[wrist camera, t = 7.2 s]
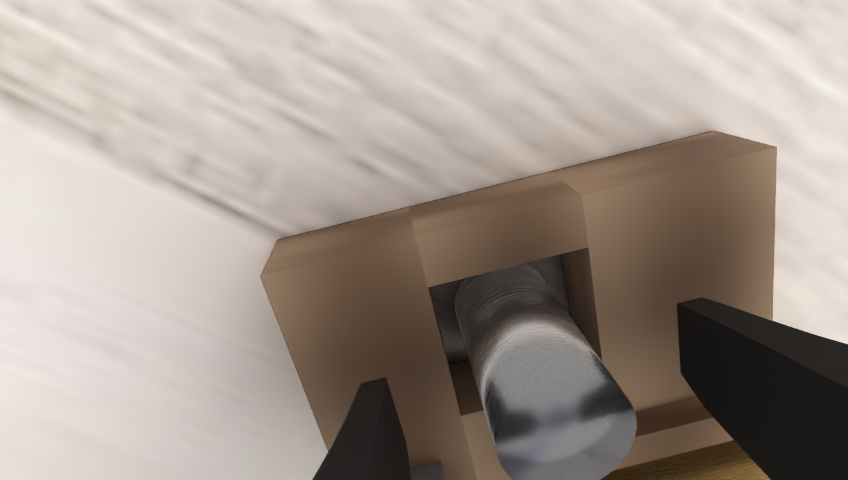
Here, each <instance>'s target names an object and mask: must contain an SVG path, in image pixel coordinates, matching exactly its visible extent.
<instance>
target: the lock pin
mask: <svg viewBox="0 0 848 480" xmlns="http://www.w3.org/2000/svg"><path fill="white" fill-rule="evenodd" d="M600 480H770V479H769V477H768V476H767V475H766V474H765V473H764V472H763V471H762V470H761V469H760V468H759V467H758V466H757V464H756V463H755V462H754V461H753V460H752V459H751V458H750V457H749V456H748V455H747V454H746V453H745V451H744V450H743V449H742V448H741V447H740V446H739V445H738V444H737V443H736V442H735V441H734V440H732V441H728V442H724V443H720V444H716V445H712V446H708V447H704V448H700V449H696V450H692V451H688V452H684V453H680V454H676V455H672V456H668V457H664V458H660V459H656V460H652V461H648V462H644V463H640V464H636V465H632V466H628V467H624V468H620V469H616V470H613V471H611V472H610V473H609V474H608V475H606V476H605V477H603V478H602V479H600Z"/></svg>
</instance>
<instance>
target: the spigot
mask: <svg viewBox="0 0 848 480" xmlns="http://www.w3.org/2000/svg"><path fill="white" fill-rule="evenodd" d="M455 313H456V317H457V320H458V324H459V327H460V330H461V334H462V337H463V341H464V344H465V347H466V351H467V354H468V358H469V361H470V364H471V368H472V371H473V375H474V378H475V381H476V385H477V388H478V392H479V395H480V398H481V402H482V405H483V409H484V412H485V415H486V419H487V422H488V426H489V429H490V432H491V436H492V439H493V443H494V446H495V449H496V453H497V456H498V460H499V462H500V464H501V466H502V468H503V469H504V471H505V472H506V473H507V474H508V475H509V476H510V477H511V478H512V479H513V480H600V479H602V478H603V477H605V476H606V475H608V474H609V473H610V472H611V471H613V470H614V469H615V468H616V467H617V466H618V465H619V464H620V463H621V462H622V461H623V459H624V458H625V457H626V455H627V454H628V452H629V450H630V448H631V446H632V444H633V442H634V439H635V435H636V429H637V421H636V414H635V411H634V408H633V406H632V404H631V402H630V401H629V399H628V398H627V396H626V395H625V394H624V392H623V391H622V389H621V388H620V386H619V385H618V384H617V382H616V381H615V379H614V378H613V376H612V375H611V374H610V372H609V371H608V369H607V368H606V367H605V365H604V364H603V362H602V361H601V359H600V358H599V357H598V355H597V354H596V352H595V351H594V350H593V348H592V347H591V345H590V344H589V342H588V341H587V340H586V338H585V337H584V335H583V334H582V333H581V331H580V330H579V328H578V327H577V325H576V324H575V323H574V321H573V320H572V318H571V317H570V315H569V314H568V313H567V311H566V310H565V308H564V307H563V306H562V304H561V303H560V301H559V300H558V298H557V297H556V296H555V294H554V293H553V291H552V290H551V289H550V287H549V286H548V284H547V283H546V281H545V280H544V279H543V277H542V276H541V275H540V273H539V272H538V271H537V270H536V269H535V268H533V267H532V266H531V265H529V264H527V263H524V264H520V265H516V266H512V267H508V268H504V269H500V270H496V271H492V272H488V273H484V274H480V275H476V276H472V277H468V278H465V279H464V280H463V281H462V283H461V284H460V286H459V288H458V291H457V294H456V298H455Z"/></svg>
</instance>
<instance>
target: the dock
mask: <svg viewBox="0 0 848 480" xmlns="http://www.w3.org/2000/svg"><path fill="white" fill-rule="evenodd" d="M776 155H777V147H774V146H771V145H767V144H763V143H759V142H755V141H752V140H748V139H744V138H740V137H736V136H733V135H729V134H725V133H721V132H717V131H711V132H707V133H703V134H699V135H695V136H691V137H687V138H683V139H679V140H675V141H671V142H667V143H663V144H659V145H655V146H651V147H647V148H643V149H639V150H635V151H631V152H627V153H623V154H619V155H615V156H611V157H607V158H603V159H599V160H595V161H591V162H587V163H583V164H579V165H575V166H571V167H567V168H563V169H559V170H555V171H551V172H547V173H543V174H539V175H535V176H531V177H527V178H523V179H519V180H515V181H511V182H507V183H503V184H499V185H495V186H491V187H487V188H483V189H479V190H475V191H471V192H467V193H463V194H459V195H455V196H451V197H447V198H443V199H439V200H435V201H431V202H427V203H423V204H419V205H415V206H411V207H407V208H403V209H399V210H395V211H391V212H387V213H383V214H379V215H375V216H371V217H367V218H363V219H359V220H355V221H351V222H347V223H343V224H339V225H335V226H331V227H327V228H323V229H319V230H315V231H311V232H307V233H303V234H299V235H295V236H291V237H287V238H283V239H279V240H277V242H276V244H275V246H274V249H273V251H272V253H271V255H270V257H269V259H268V261H267V263H266V265H265V267H264V269H263V271H262V273H261V276H260V278H261V280H262V283H263V285H264V288H265V291H266V293H267V296H268V298H269V301H270V303H271V306H272V308H273V311H274V314H275V316H276V319H277V321H278V324H279V326H280V329H281V332H282V334H283V337H284V339H285V342H286V344H287V347H288V350H289V352H290V355H291V357H292V360H293V362H294V365H295V368H296V370H297V373H298V375H299V378H300V380H301V383H302V385H303V388H304V391H305V393H306V396H307V398H308V401H309V403H310V406H311V409H312V411H313V414H314V416H315V419H316V421H317V424H318V427H319V429H320V432H321V434H322V437H323V439H324V442H325V445H326V447H327V450H328V452H329V450H330V448H331V446H332V444H333V442H334V440H335V438H336V436H337V434H338V432H339V430H340V428H341V426H342V424H343V422H344V420H345V417H346V415H347V413H348V411H349V409H350V406H351V404H352V402H353V399H354V397H355V394H356V392H357V390H358V388H359V386H360V385H361V383H364V382H368V381H372V380H376V379H380V378H384V377H386V379H387V382H388V385H389V388H390V392H391V395H392V398H393V401H394V404H395V408H396V411H397V414H398V417H399V420H400V424H401V427H402V430H403V433H404V436H405V440H406V443H407V450H408V457H409V465H410V472H411V480H513V479H512V478H511V477H510V476H509V475H508V474H507V473H506V472H505V471H504V469H503V468H502V466H501V464H500V462H499V460H498V456H497V453H496V449H495V446H494V443H493V439H492V436H491V432H490V429H489V426H488V422H487V419H486V415H485V412H484V409H483V405H482V402H481V398H480V395H479V392H478V388H477V385H476V381H475V378H474V375H473V371H472V368H471V364H470V361H469V360H467V361H463V362H459V363H455V364H451V365H449V363H448V359H447V355H446V351H445V347H444V343H443V339H442V336H441V332H440V328H439V324H438V320H437V316H436V312H435V308H434V304H433V300H432V296H431V292H430V289H429V287H432V286H436V285H440V284H444V283H448V282H452V281H456V280H460V279H464V278H468V277H472V276H476V275H480V274H484V273H488V272H492V271H496V270H500V269H504V268H508V267H512V266H516V265H520V264H524V263H528V262H532V261H536V260H540V259H544V258H548V257H552V256H556V255H560V254H562V260H563V267H564V274H565V281H566V288H567V295H568V302H569V309H570V316H571V318H572V320H573V321H574V323H575V324H576V325H577V327H578V328H579V330H580V331H581V333H582V334H583V335H584V337H585V338H586V340H587V341H588V342H589V344H590V345H591V347H592V348H593V350H594V351H595V352H596V354H597V355H598V357H599V358H600V359H601V361H602V362H603V364H604V365H605V367H606V368H607V369H608V371H609V372H610V374H611V375H612V376H613V378H614V379H615V381H616V382H617V384H618V385H619V386H620V388H621V389H622V391H623V392H624V394H625V395H626V396H627V398H628V399H629V401H630V402H631V404H632V406H633V408H634V411H635V414H636V421H637V429H636V435H635V439H634V442H633V444H632V446H631V448H630V450H629V452H628V454H627V455H626V457H625V458H624V459H623V461H622V462H621V463H620V464H619V465H618V466H617V467H616V468H615V469H614V470H616V469H620V468H624V467H628V466H632V465H636V464H640V463H644V462H648V461H652V460H656V459H660V458H664V457H668V456H672V455H676V454H680V453H684V452H688V451H692V450H696V449H700V448H704V447H708V446H712V445H716V444H720V443H724V442H728V441H732V440H733V438H732V437H731V436H730V435H729V434H728V433H727V432H726V431H725V430H724V429H723V427H722V426H721V425H720V424H719V423H718V422H717V421H716V420H715V419H714V418H713V416H712V415H711V414H710V413H709V412H708V411H707V410H706V408H705V407H704V406H703V404H702V403H701V402H700V400H699V399H698V398H697V396H696V395H695V393H694V392H693V391H692V389H691V388H690V386H689V385H688V383H687V382H686V380H685V379H684V377H683V376H682V374H681V372H680V354H679V337H678V320H677V303H680V302H684V301H688V300H692V299H696V298H700V297H702V298H706V299H709V300H713V301H716V302H719V303H722V304H725V305H728V306H731V307H734V308H737V309H740V310H743V311H746V312H748V313H751V314H754V315H757V316H760V317H763V318H766V319H769V320H771V321H772V317H773V276H774V236H775V196H776Z"/></svg>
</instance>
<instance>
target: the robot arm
mask: <svg viewBox="0 0 848 480" xmlns="http://www.w3.org/2000/svg"><path fill="white" fill-rule="evenodd" d="M677 320H678V337H679V354H680V372H681V374H682V376H683V377H684V379H685V380H686V382H687V383H688V385H689V386H690V388H691V389H692V391H693V392H694V393H695V395H696V396H697V398H698V399H699V400H700V402H701V403H702V404H703V406H704V407H705V408H706V410H707V411H708V412H709V413H710V414H711V415H712V416H713V418H714V419H715V420H716V421H717V422H718V423H719V424H720V425H721V426H722V427H723V429H724V430H725V431H726V432H727V433H728V434H729V435H730V436H731V437H732V438H733V440H734V441H735V442H736V443H737V444H738V445H739V446H740V447H741V448H742V449H743V450H744V451H745V453H746V454H747V455H748V456H749V457H750V458H751V459H752V460H753V461H754V462H755V463H756V464H757V466H758V467H759V468H760V469H761V470H762V471H763V472H764V473H765V474H766V475H767V476H768V477H769V479H770V480H848V344H844V343H841V342H838V341H834V340H831V339H827V338H824V337H820V336H817V335H814V334H811V333H808V332H804V331H801V330H798V329H795V328H792V327H789V326H786V325H783V324H780V323H777V322H774V321H771V320H769V319H766V318H763V317H760V316H757V315H754V314H751V313H748V312H746V311H743V310H740V309H737V308H734V307H731V306H728V305H725V304H722V303H719V302H716V301H713V300H709V299H706V298H702V297H700V298H696V299H692V300H688V301H684V302H680V303H677ZM313 480H411V472H410V465H409V457H408V450H407V443H406V440H405V436H404V433H403V430H402V427H401V424H400V420H399V417H398V414H397V411H396V408H395V404H394V401H393V398H392V395H391V392H390V388H389V385H388V382H387V379H386V377H384V378H380V379H376V380H372V381H368V382H364V383H361V385H360V386H359V388H358V390H357V392H356V394H355V397H354V399H353V402H352V404H351V406H350V409H349V411H348V413H347V415H346V417H345V420H344V422H343V424H342V426H341V428H340V430H339V432H338V434H337V436H336V438H335V440H334V442H333V444H332V446H331V448H330V450H329V452H328V454H327V455H326V457H325V459H324V461H323V462H322V464H321V466H320V468H319V469H318V471H317V473H316V475H315V476H314V478H313Z"/></svg>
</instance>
